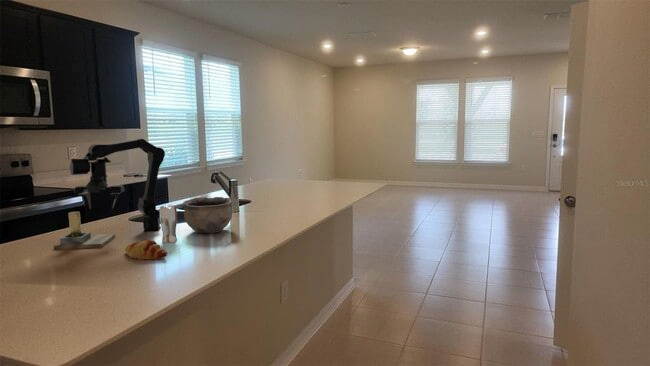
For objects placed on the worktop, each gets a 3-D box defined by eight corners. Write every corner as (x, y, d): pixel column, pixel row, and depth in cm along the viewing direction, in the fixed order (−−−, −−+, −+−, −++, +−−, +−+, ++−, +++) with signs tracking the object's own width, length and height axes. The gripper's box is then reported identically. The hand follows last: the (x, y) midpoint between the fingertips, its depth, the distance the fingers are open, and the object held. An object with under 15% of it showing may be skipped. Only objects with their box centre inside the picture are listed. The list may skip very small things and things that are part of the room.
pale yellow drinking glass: (84, 240, 173) (82, 212, 172) (75, 242, 170) (73, 213, 168) (76, 239, 175) (74, 211, 173) (68, 241, 171) (66, 213, 169)
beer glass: (180, 239, 182) (179, 205, 180) (173, 243, 175) (172, 208, 173) (165, 238, 182) (164, 205, 180) (157, 243, 175) (156, 208, 173)
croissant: (120, 263, 160) (110, 248, 156) (138, 245, 167) (129, 230, 163) (162, 270, 151) (152, 254, 147) (178, 251, 159) (170, 235, 154)
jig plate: (115, 237, 184) (114, 228, 184) (102, 247, 168) (101, 237, 168) (71, 238, 181) (70, 229, 181) (53, 249, 165) (53, 239, 165)
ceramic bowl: (239, 227, 204) (238, 197, 202) (224, 238, 183) (223, 205, 181) (195, 225, 206) (194, 196, 204) (175, 237, 185) (174, 204, 183)
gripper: (67, 175, 170) (69, 213, 172) (115, 175, 173) (117, 211, 175) (78, 172, 181) (80, 207, 183) (123, 172, 184) (125, 206, 186)
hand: (101, 208), depth 182 cm, fingers open, 9 cm apart
